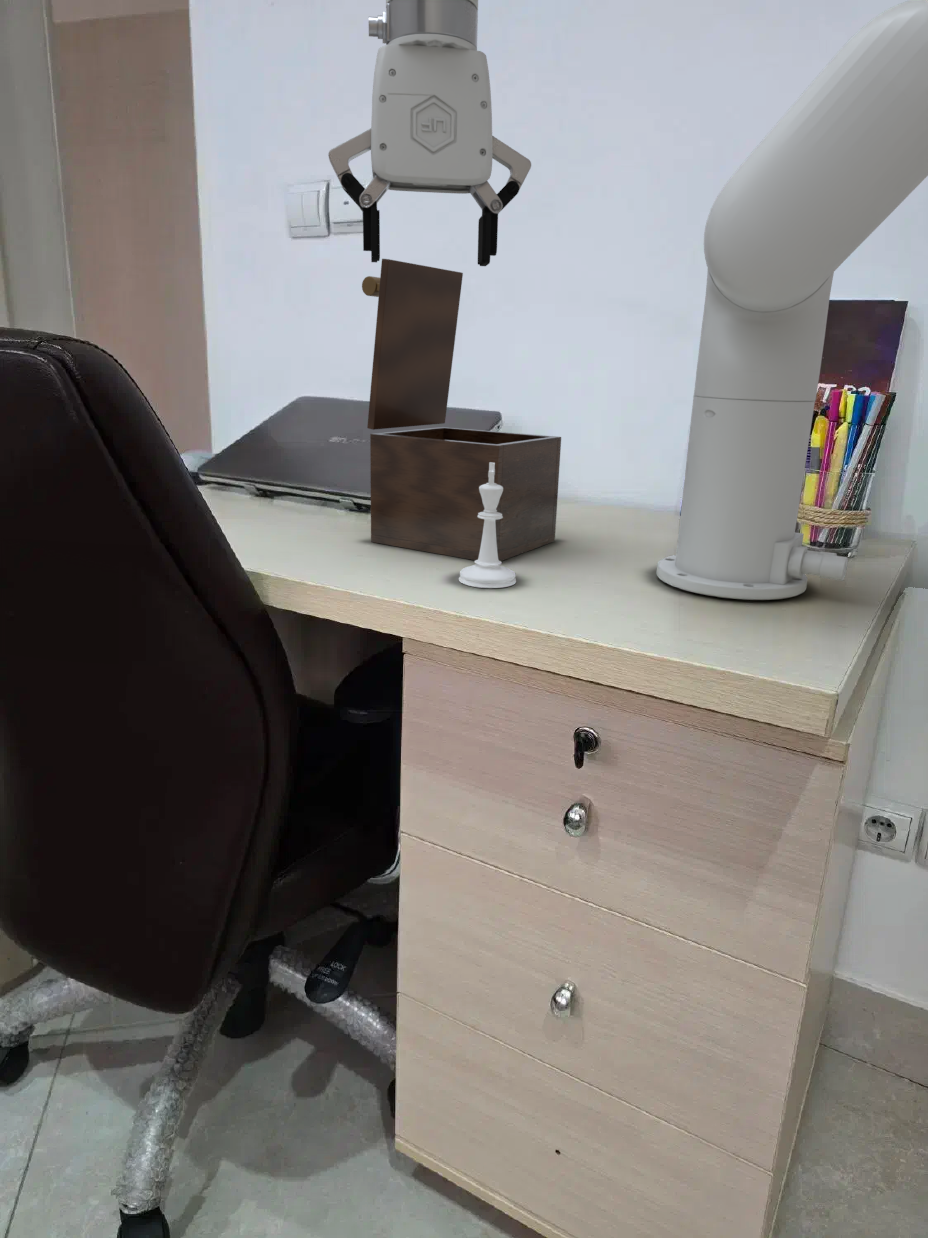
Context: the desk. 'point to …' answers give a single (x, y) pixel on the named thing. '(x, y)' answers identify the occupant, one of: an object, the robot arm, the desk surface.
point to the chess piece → (488, 543)
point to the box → (462, 489)
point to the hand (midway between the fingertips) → (429, 262)
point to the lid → (412, 343)
